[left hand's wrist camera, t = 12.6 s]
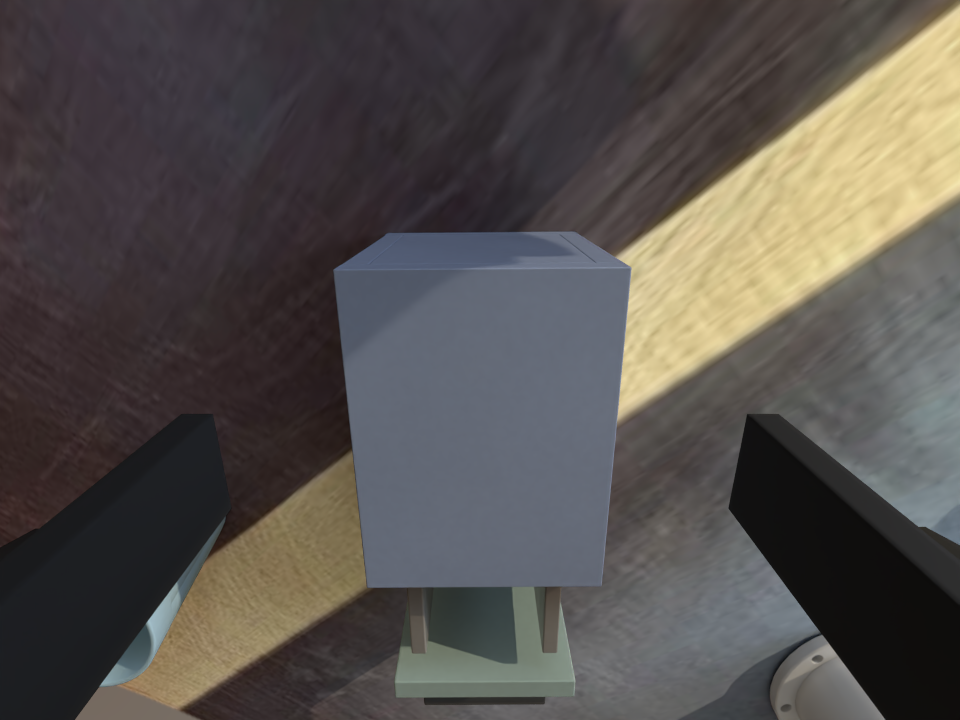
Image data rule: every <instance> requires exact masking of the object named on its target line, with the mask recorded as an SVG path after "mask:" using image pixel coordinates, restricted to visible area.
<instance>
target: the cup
mask: <svg viewBox="0 0 960 720" xmlns="http://www.w3.org/2000/svg"><path fill="white" fill-rule="evenodd" d="M225 520H226V516H225V518H224V519H223V520H222V522H221V523H220V525H219V526H218V527H217V529H216V530H215V531H214V533H213V534H212V535H211V537H210V538H209V539H208V541H207V542H206V543H205V545H204V546H203V547H202V549H201V550H200V551H199V553H198V554H197V556H196V557H195V558H194V560H193V561H192V562H191V564H190V565H189V566H188V568H187V569H186V570H185V572H184V573H183V574H182V576H181V577H180V578H179V580H178V581H177V583H176V584H175V585H174V587H173V588H172V589H171V591H170V592H169V593H168V595H167V596H166V597H165V599H164V600H163V601H162V603H161V604H160V605H159V607H158V608H157V609H156V611H155V612H154V614H153V615H152V616H151V618H150V619H149V620H148V622H147V623H146V624H145V626H144V627H143V628H142V630H141V631H140V632H139V634H138V635H137V636H136V638H135V639H134V640H133V642H132V643H131V645H130V646H129V647H128V649H127V650H126V651H125V653H124V654H123V655H122V657H121V658H120V659H119V661H118V662H117V663H116V665H115V666H114V667H113V669H112V670H111V672H110V673H109V674H108V676H107V677H106V678H105V680H104V681H103V682H102V684H101V685H100V686H99V687H108V686H115V685H119V684H122V683H125V682H128V681H130V680H132V679H134V678H136V677H137V676H139V675H140V674H141V673H143V672H144V671H145V670H146V669H147V667H148V666H149V665H150V663H151V662H152V660H153V658H154V656H155V654H156V653H157V651H158V649H159V647H160V645H161V643H162V641H163V639H164V637H165V636H166V634H167V632H168V630H169V628H170V625H171V623H172V622H173V620H174V618H175V616H176V614H177V612H178V610H179V609H180V607H181V605H182V603H183V601H184V599H185V597H186V595H187V594H188V592H189V590H190V588H191V586H192V584H193V582H194V581H195V579H196V577H197V575H198V573H199V571H200V569H201V568H202V566H203V564H204V562H205V560H206V558H207V556H208V554H209V553H210V551H211V549H212V547H213V545H214V543H215V541H216V539H217V538H218V536H219V534H220V532H221V530H222V527H223V525H224V523H225Z"/></svg>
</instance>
